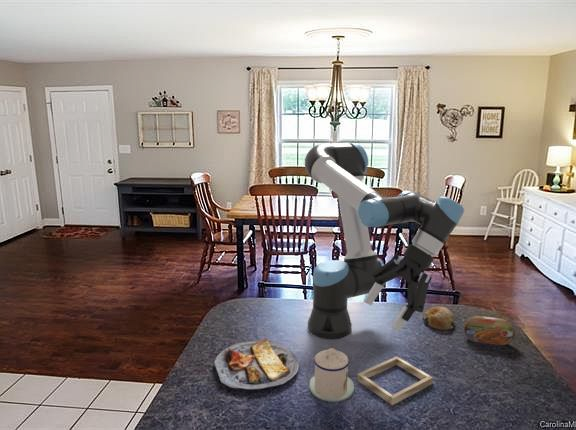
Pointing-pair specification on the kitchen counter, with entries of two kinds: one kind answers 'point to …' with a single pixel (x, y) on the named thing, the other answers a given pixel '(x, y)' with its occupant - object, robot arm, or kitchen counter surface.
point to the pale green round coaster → (348, 394)
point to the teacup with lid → (331, 373)
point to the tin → (489, 330)
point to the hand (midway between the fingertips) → (380, 315)
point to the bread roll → (439, 318)
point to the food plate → (256, 364)
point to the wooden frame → (402, 394)
